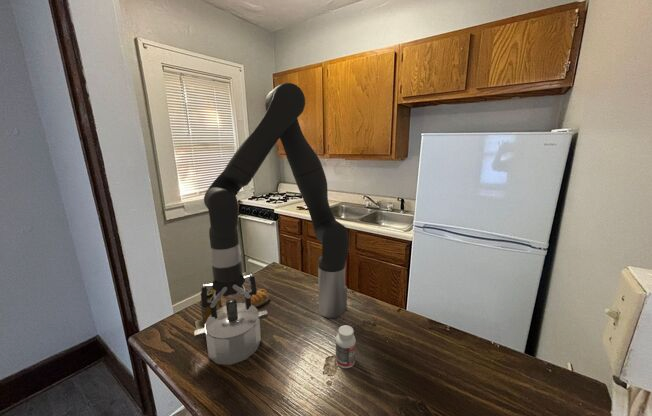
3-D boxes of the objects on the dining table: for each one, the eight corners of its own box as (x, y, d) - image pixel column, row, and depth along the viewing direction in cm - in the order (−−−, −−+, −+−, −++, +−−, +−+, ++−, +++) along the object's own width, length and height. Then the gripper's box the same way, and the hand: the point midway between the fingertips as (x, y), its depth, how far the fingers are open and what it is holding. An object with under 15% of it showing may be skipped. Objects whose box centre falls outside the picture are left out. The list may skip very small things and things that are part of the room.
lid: (253, 303, 82) (251, 283, 80) (264, 331, 70) (262, 308, 68) (205, 317, 76) (202, 295, 74) (207, 350, 63) (203, 324, 61)
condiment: (226, 325, 82) (222, 292, 79) (197, 335, 78) (193, 301, 75) (221, 313, 88) (218, 282, 85) (194, 322, 84) (190, 290, 81)
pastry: (251, 312, 89) (251, 303, 88) (239, 306, 92) (238, 297, 91) (271, 299, 96) (270, 290, 95) (259, 294, 100) (258, 285, 99)
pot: (262, 319, 85) (261, 298, 83) (274, 349, 72) (273, 325, 70) (197, 339, 76) (194, 316, 74) (198, 376, 64) (194, 350, 62)
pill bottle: (352, 371, 65) (353, 339, 63) (333, 366, 67) (333, 335, 64) (356, 355, 70) (357, 325, 68) (338, 351, 72) (338, 321, 69)
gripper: (250, 250, 74) (254, 299, 78) (197, 260, 68) (204, 312, 72) (256, 260, 68) (259, 312, 72) (197, 272, 61) (204, 328, 65)
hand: (231, 312), depth 72 cm, fingers open, 8 cm apart
